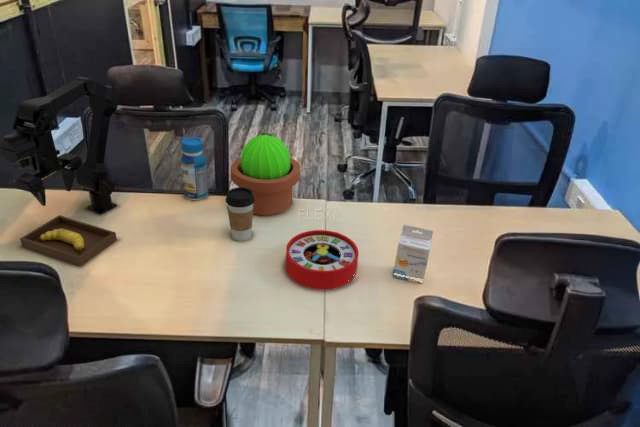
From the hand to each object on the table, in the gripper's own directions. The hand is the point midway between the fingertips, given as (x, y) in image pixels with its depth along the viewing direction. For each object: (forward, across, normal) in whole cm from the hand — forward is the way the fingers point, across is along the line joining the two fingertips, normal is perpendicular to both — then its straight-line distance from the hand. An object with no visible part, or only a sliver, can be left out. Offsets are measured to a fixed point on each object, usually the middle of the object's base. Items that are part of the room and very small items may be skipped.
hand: (56, 198), depth 145 cm
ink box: (+12, -22, +100) cm, 103 cm away
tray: (+11, +4, +6) cm, 14 cm away
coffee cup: (+12, -20, +48) cm, 53 cm away
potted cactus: (+12, -41, +46) cm, 63 cm away
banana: (+11, +5, +6) cm, 13 cm away
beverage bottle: (+12, -36, +23) cm, 44 cm away
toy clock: (+12, -16, +76) cm, 78 cm away
